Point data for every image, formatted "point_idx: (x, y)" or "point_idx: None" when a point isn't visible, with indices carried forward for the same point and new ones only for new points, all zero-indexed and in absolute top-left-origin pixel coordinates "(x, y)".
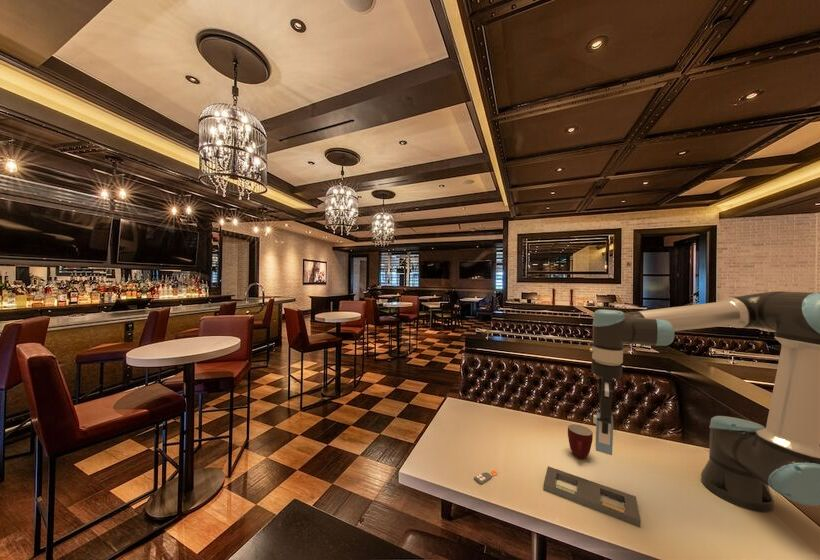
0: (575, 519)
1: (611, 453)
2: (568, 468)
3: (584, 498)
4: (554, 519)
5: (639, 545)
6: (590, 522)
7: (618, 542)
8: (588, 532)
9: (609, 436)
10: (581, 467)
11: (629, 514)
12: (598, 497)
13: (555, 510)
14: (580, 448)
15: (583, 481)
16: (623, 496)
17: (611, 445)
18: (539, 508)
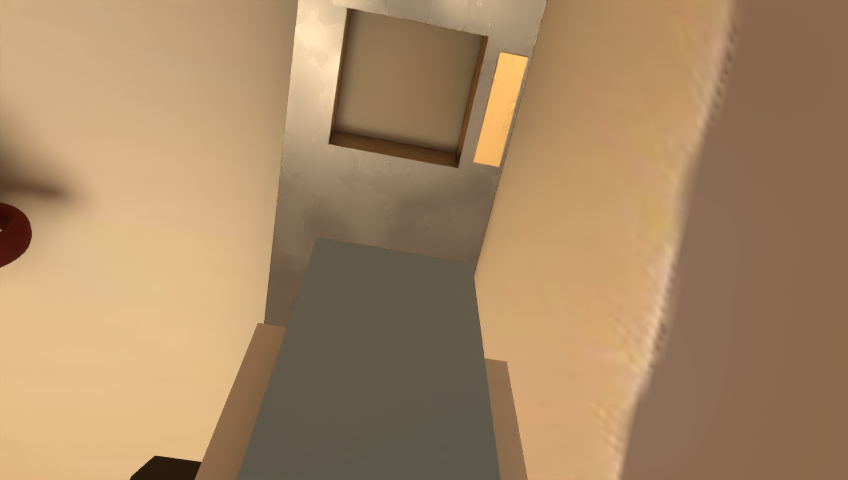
0: (595, 285)
1: (472, 278)
2: (156, 265)
3: (474, 249)
4: (625, 367)
5: (686, 19)
6: (593, 223)
7: (692, 122)
8: (664, 244)
9: (517, 449)
10: (91, 188)
11: (524, 27)
12: (431, 172)
13: (564, 359)
14: (2, 250)
15: (309, 229)
16: (347, 11)
17: (478, 333)
18: (575, 417)
